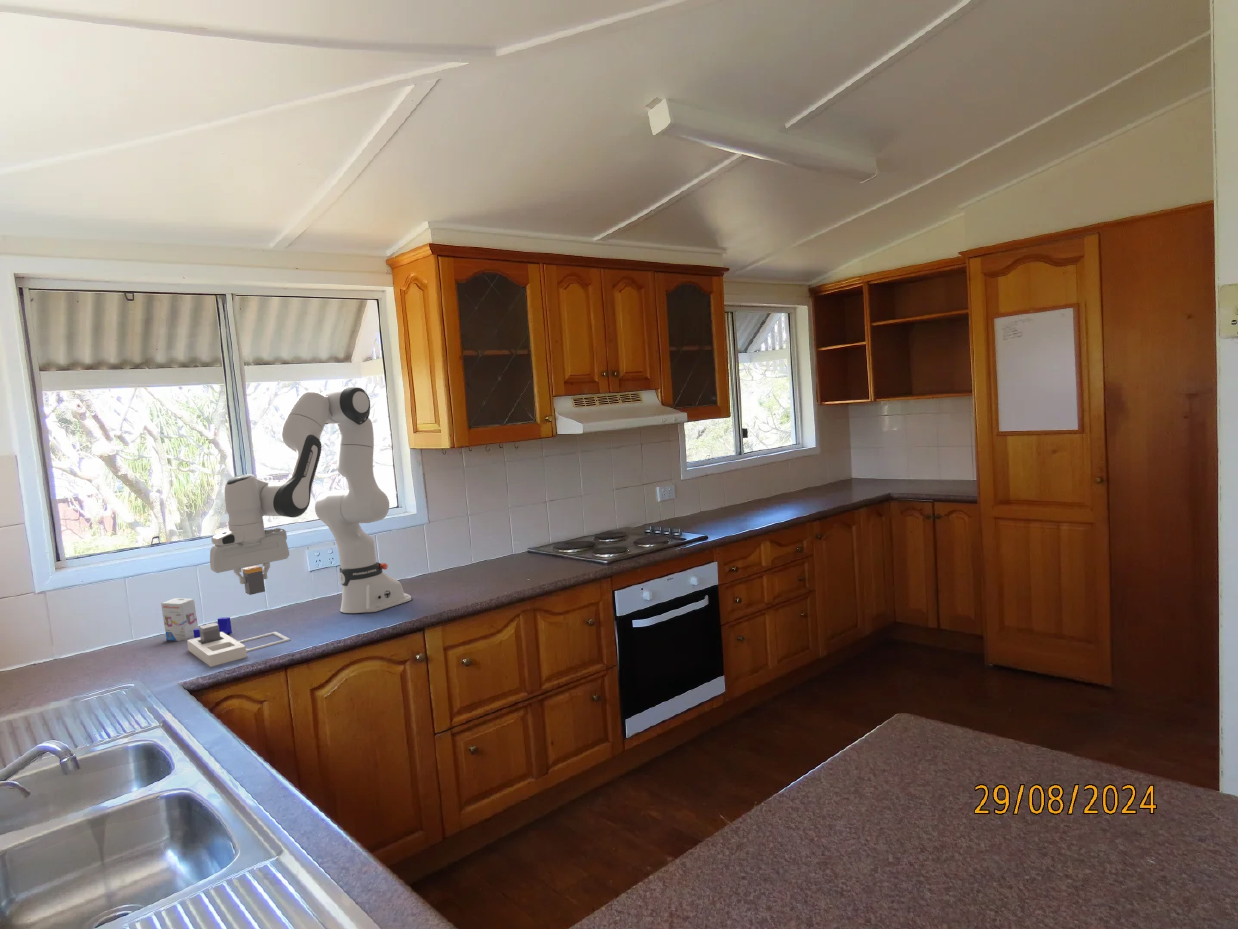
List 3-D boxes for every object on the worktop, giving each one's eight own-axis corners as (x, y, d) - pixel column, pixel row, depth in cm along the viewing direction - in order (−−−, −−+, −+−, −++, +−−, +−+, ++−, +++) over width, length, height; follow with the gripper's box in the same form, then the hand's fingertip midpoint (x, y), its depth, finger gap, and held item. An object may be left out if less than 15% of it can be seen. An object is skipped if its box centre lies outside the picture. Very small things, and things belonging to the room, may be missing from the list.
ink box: (165, 640, 231) (159, 602, 230) (179, 635, 236) (174, 597, 235) (186, 641, 228) (180, 602, 227) (200, 636, 233) (195, 598, 232)
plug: (260, 589, 219) (257, 565, 219) (265, 591, 216) (261, 567, 216) (245, 592, 217) (242, 568, 216) (250, 595, 214) (246, 570, 213)
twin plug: (217, 646, 217) (214, 622, 216) (221, 649, 214) (218, 625, 213) (202, 650, 214) (198, 626, 213) (206, 653, 211) (202, 628, 210)
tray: (276, 636, 226) (275, 631, 226) (290, 643, 217) (290, 638, 217) (232, 647, 218) (231, 642, 218) (245, 655, 209) (245, 650, 209)
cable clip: (218, 637, 231) (216, 617, 231) (232, 636, 230) (229, 617, 230) (191, 650, 219) (188, 630, 219) (205, 650, 219) (202, 629, 218)
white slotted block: (223, 645, 221) (221, 631, 221) (247, 660, 205) (245, 646, 205) (188, 654, 215) (187, 640, 215) (210, 670, 199) (209, 655, 199)
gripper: (281, 525, 224) (287, 571, 226) (204, 539, 211) (211, 588, 212) (289, 527, 220) (295, 574, 221) (211, 541, 206) (218, 591, 207)
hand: (253, 581), depth 216 cm, fingers closed on plug, 4 cm apart
